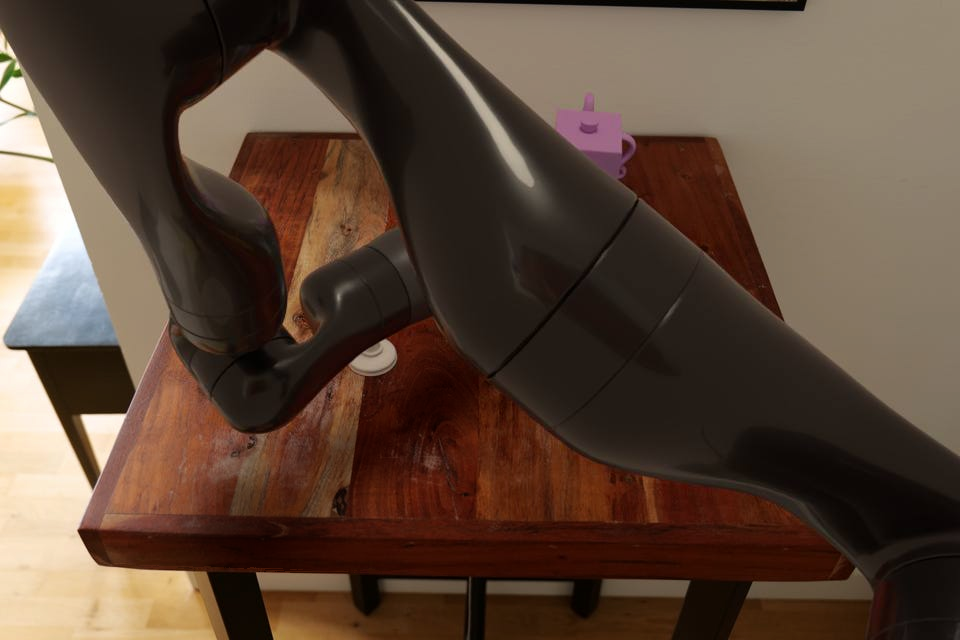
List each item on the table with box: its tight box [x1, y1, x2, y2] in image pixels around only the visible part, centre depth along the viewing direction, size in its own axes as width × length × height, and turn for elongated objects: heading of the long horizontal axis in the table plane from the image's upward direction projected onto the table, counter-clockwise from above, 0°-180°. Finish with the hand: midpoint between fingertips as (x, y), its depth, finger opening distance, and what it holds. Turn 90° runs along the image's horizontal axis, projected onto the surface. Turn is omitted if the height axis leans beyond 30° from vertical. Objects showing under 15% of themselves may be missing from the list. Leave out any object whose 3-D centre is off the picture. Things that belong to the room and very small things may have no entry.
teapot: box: [554, 92, 637, 181], centre depth 105 cm, size 18×13×10 cm
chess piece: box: [348, 338, 398, 377], centre depth 81 cm, size 5×5×10 cm
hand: (572, 188), depth 76 cm, fingers closed on pill bottle, 5 cm apart
